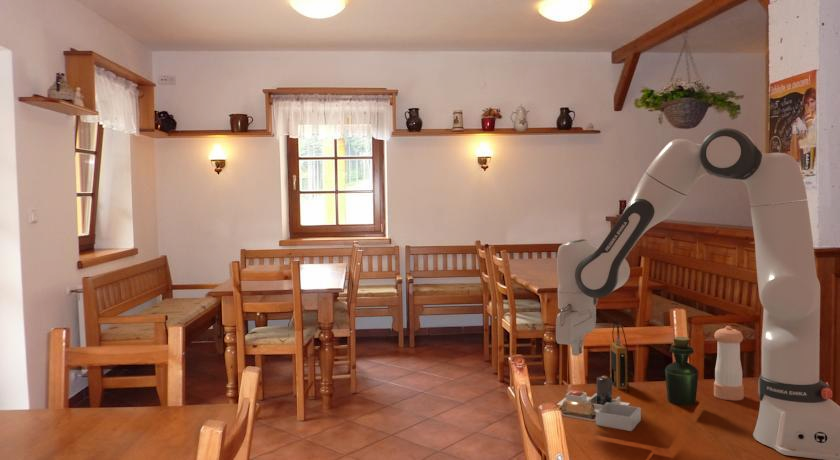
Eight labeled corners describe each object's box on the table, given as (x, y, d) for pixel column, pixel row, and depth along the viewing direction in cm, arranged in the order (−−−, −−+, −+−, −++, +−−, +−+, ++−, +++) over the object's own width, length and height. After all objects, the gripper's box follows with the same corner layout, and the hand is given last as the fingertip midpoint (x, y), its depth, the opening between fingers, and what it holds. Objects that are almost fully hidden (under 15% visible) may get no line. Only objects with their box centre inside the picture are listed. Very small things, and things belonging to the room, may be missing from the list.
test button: (583, 398, 167) (583, 391, 167) (579, 401, 165) (579, 394, 165) (573, 396, 169) (572, 389, 169) (569, 399, 166) (569, 392, 166)
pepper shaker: (708, 393, 175) (708, 324, 174) (733, 391, 176) (733, 323, 175) (723, 401, 168) (723, 329, 167) (749, 399, 169) (749, 328, 168)
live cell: (594, 417, 157) (594, 402, 157) (589, 422, 154) (589, 406, 154) (565, 412, 161) (565, 397, 161) (559, 416, 158) (559, 401, 158)
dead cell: (614, 404, 163) (613, 375, 163) (609, 409, 160) (609, 379, 160) (599, 402, 165) (599, 373, 165) (594, 406, 162) (594, 377, 162)
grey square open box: (640, 426, 152) (640, 407, 152) (631, 437, 145) (631, 418, 145) (606, 420, 157) (606, 402, 156) (595, 430, 150) (595, 412, 150)
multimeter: (658, 398, 172) (658, 325, 171) (621, 398, 172) (620, 326, 171) (640, 382, 187) (640, 315, 186) (606, 383, 187) (605, 315, 186)
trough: (603, 419, 157) (603, 412, 157) (595, 427, 152) (595, 420, 152) (560, 411, 163) (560, 405, 163) (551, 419, 158) (550, 412, 158)
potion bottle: (669, 400, 170) (669, 333, 169) (701, 405, 166) (701, 336, 165) (661, 408, 164) (660, 339, 163) (694, 414, 159) (694, 343, 158)
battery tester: (629, 408, 164) (629, 395, 164) (618, 420, 156) (618, 406, 156) (570, 399, 173) (570, 386, 173) (556, 410, 165) (556, 396, 165)
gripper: (572, 309, 155) (574, 365, 156) (599, 296, 172) (601, 347, 173) (548, 307, 159) (550, 362, 159) (577, 295, 176) (578, 345, 176)
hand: (577, 354), depth 166 cm, fingers closed
